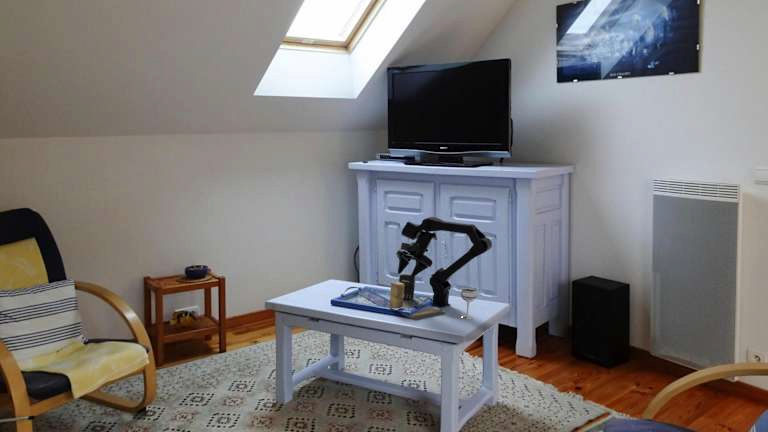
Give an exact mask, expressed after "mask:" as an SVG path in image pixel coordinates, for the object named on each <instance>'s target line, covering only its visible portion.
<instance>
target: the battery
mask: <svg viewBox="0 0 768 432" xmlns="http://www.w3.org/2000/svg"><path fill="white" fill-rule="evenodd" d="M411 274H412V273H408V272H401V273H400V274H399V277H398V278H399V279H398V282H401V283H403V284H405V285H404V300H409V301H411V300H414V297H415V288H416V276H414V277H413V278H412V277H411Z"/></svg>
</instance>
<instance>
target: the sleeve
mask: <svg viewBox="0 0 768 432" xmlns="http://www.w3.org/2000/svg"><path fill="white" fill-rule="evenodd" d="M404 285H405V284H403V283H401V282H399V281H393V282H391V283H390V295H389V308H390V307H391V308H395V309H396V308H400V307H403V308H404V300H405V299H404ZM391 308H390V309H391Z"/></svg>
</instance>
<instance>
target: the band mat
mask: <svg viewBox="0 0 768 432" xmlns="http://www.w3.org/2000/svg"><path fill="white" fill-rule="evenodd" d="M425 306H426V305H425ZM401 315H403V316H404V317H406V318H409V319H410V320H414V321H416V320H422V319H426V318H430V317H436V316H440V315H446V312H445V311H444V309H442V308H439V309H438V308H435V307H433V306H431V305H428V306H426V307H424V308H422V309H421V310H419V311H417V312H416V313H414V314H412V315H408V314H404V313H402V314H401Z"/></svg>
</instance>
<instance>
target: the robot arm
mask: <svg viewBox="0 0 768 432" xmlns="http://www.w3.org/2000/svg"><path fill="white" fill-rule="evenodd" d="M439 231H443V232H451V233H457V234H458V233H460V234H465V235H466V236H468V238H469V240H470V242H471V244H472V245H471V247H470V248H469V249H468V251H467V252H466V253H464V254H463V255H462V256H460V257H458V259H456V260H455V261H454V262H453V263H452V264H450V265H449V266H448V267H446V269H444V267H441V268H439V269H437V270H436V271H435V272H434V273H432V274H430V276H431V277H430V278H429V285H430V287H431V289H432V293H433V295H432V302H433V303H432V304H431V305H433V306H436V307H438V308H445V307H450V306H451V303H449V297H450V290H451V288H452V285H451V283H450V282H449V280H450V279H451V277H452V276H453V275H454V274H456V273H457V272H458V271H460V270H461V269H462V268H463V267H464V266H466V265H467V264H469V263H470V262H471V261H473V260H474V259H475V258H477V257H479V256H480V255H482V254H484V253H486V252H488V251H490V250H491V249H492V247H493V242H492V240H491V239H490V238H489V237H486V235H485V233H484V232H483V231H480V229H478V227H477V226H476V225H475V224H473V223H462V222H461V223H460V222H454V221H445V220H442V218H441V219H440V218H438V217H434V216H430V217H429V216H428V217H427V218H424V219H423V220H422V221H421V223H420V224H418V225H417V224H415V223H413V222H411V221H407V222H406V224H405V225H404V227H403V228H402V229H401V236H403V237H405V238H407V239H409V240H412V241H414V240H415V241H414V242H411V243H407V242H403V241H402V242H401V245H400V249H399V250H397V252H396V253H395V255H396V257H397V258H398V261H399V262H398V269H397V274H398V275H401V274H402V273H403V271H404V270H405V269H406V267H407V266H409V264H410V262H411V261H415V266H414V268H413V270H412V273H410V274H411V277H412V278H413V277H414V276H415V277H416V276H417V275H419V274H420V273H422V272H423V271H425V270H426V269H428V268H431V267H432V266H433V260H432V259H431V258H430V257H428V256H427V255H425V252H426V253H428V252H429V249H428V248H429V246H430V243H431V242H432V240H435V241H438V237H437V234H436V232H439Z"/></svg>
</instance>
